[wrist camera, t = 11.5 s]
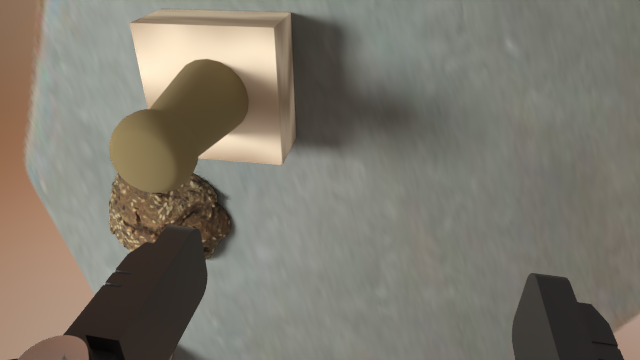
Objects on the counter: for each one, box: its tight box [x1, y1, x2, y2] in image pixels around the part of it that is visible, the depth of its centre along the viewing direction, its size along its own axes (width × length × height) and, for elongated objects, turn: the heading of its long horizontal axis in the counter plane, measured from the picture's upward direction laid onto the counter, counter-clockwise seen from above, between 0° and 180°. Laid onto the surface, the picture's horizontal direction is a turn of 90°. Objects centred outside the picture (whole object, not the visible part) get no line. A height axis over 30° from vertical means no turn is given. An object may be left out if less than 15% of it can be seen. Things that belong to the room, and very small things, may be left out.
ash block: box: [130, 9, 296, 165], centre depth 39 cm, size 11×11×5 cm
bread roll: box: [109, 173, 231, 260], centre depth 48 cm, size 13×12×5 cm
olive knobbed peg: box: [110, 59, 249, 193], centre depth 32 cm, size 6×6×11 cm
